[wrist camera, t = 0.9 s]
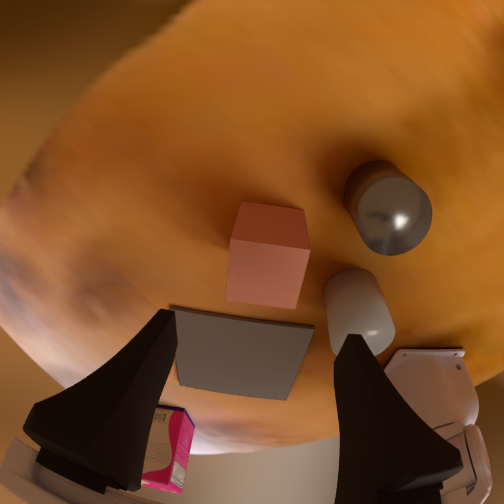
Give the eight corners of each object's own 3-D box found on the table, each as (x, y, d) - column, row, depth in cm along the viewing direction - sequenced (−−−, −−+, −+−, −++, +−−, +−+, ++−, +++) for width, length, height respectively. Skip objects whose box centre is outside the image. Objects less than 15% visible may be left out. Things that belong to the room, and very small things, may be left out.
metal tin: (414, 169, 17) (442, 191, 13) (395, 228, 19) (416, 260, 16) (352, 154, 17) (370, 172, 13) (337, 218, 19) (349, 249, 16)
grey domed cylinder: (385, 272, 21) (405, 317, 17) (367, 314, 23) (379, 361, 19) (331, 264, 21) (342, 312, 17) (317, 309, 23) (322, 358, 19)
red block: (303, 209, 19) (310, 250, 15) (292, 261, 21) (295, 309, 17) (241, 200, 19) (230, 238, 15) (236, 253, 21) (225, 300, 17)
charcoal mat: (314, 326, 24) (314, 329, 24) (286, 397, 30) (286, 400, 30) (171, 305, 24) (170, 309, 24) (180, 382, 31) (179, 385, 30)
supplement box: (159, 421, 38) (141, 486, 28) (146, 402, 35) (123, 474, 25) (196, 426, 37) (182, 495, 27) (186, 408, 34) (167, 485, 24)
